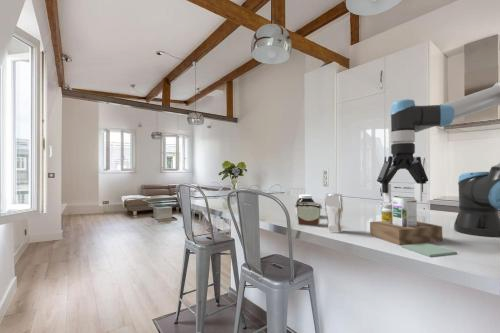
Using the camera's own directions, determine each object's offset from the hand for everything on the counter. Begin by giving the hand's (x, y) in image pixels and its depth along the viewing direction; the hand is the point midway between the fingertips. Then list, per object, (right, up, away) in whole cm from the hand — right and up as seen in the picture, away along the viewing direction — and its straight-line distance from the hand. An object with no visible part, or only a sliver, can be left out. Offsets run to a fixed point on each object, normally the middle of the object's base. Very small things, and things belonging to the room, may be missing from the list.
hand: (403, 201), depth 98 cm
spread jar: (-25, -14, +47) cm, 55 cm away
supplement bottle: (+5, -14, +21) cm, 25 cm away
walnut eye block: (+1, -13, 0) cm, 13 cm away
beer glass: (-21, -14, +12) cm, 28 cm away
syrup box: (+1, -13, 0) cm, 13 cm away
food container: (-28, -14, +26) cm, 40 cm away
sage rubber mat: (-1, -13, -15) cm, 20 cm away
